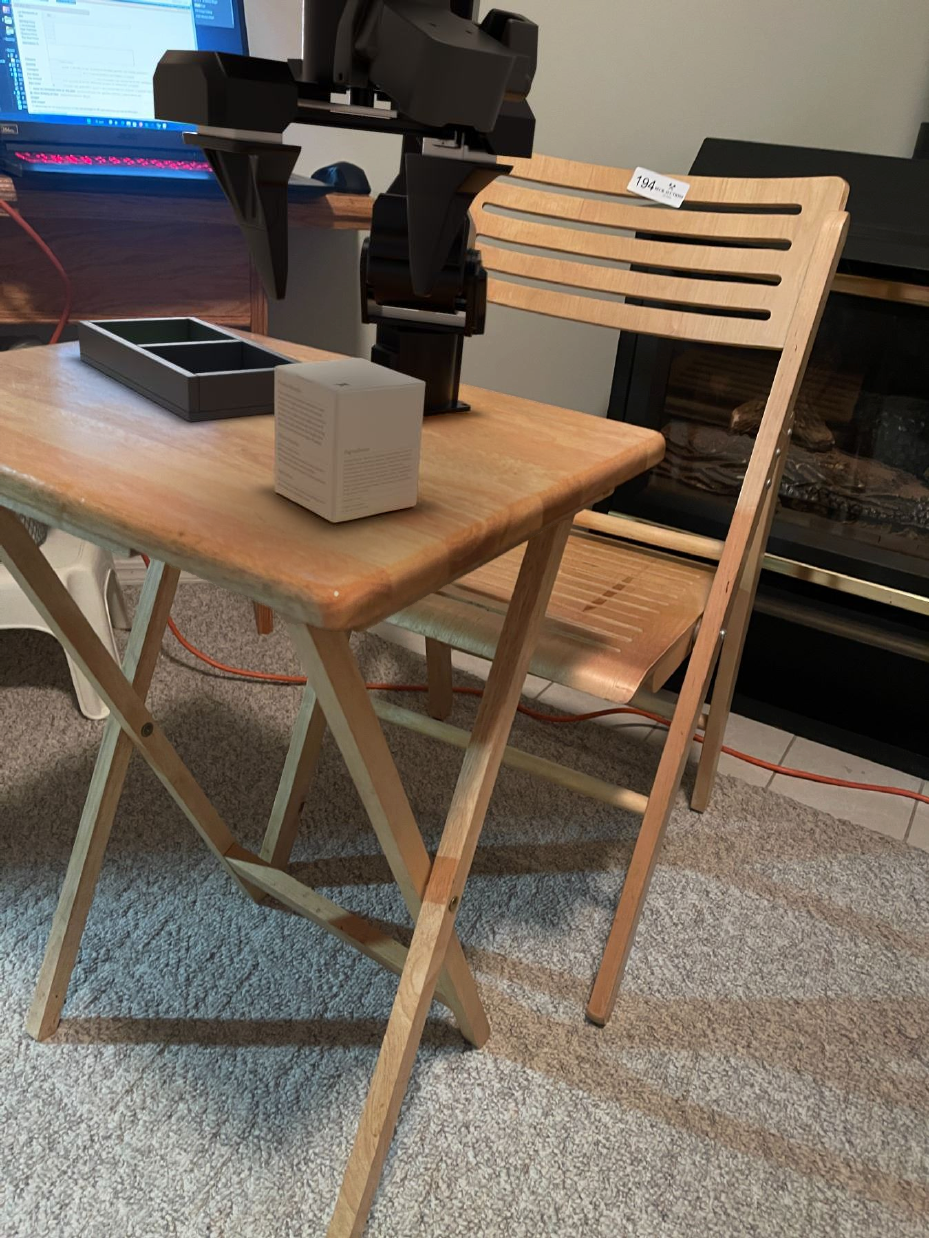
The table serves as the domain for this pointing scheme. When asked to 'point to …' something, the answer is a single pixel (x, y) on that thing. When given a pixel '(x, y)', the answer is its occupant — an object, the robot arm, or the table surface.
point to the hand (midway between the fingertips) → (353, 297)
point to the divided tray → (184, 365)
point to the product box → (347, 437)
